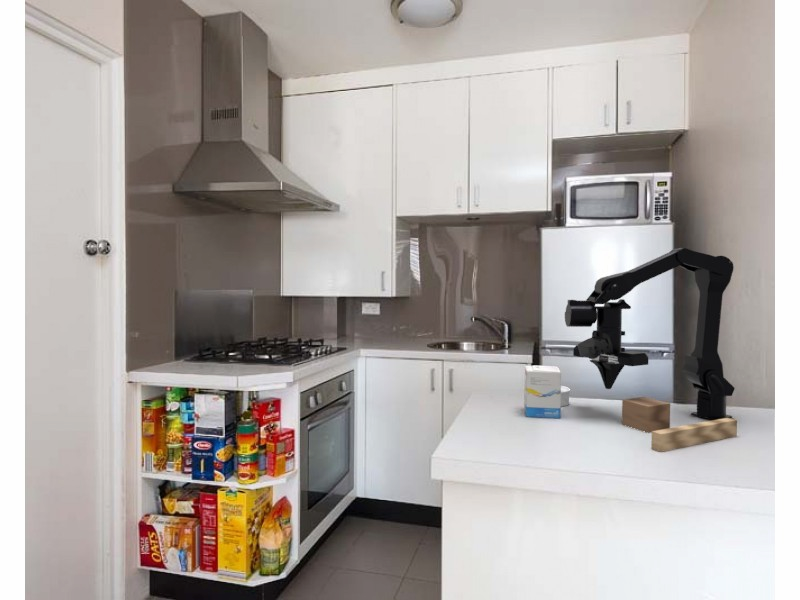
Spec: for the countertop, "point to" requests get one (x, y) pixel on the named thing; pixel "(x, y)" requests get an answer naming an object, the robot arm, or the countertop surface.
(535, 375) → the ink box
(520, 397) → the countertop surface
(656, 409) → the walnut block
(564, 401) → the ramekin
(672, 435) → the oak plank
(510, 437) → the countertop surface
